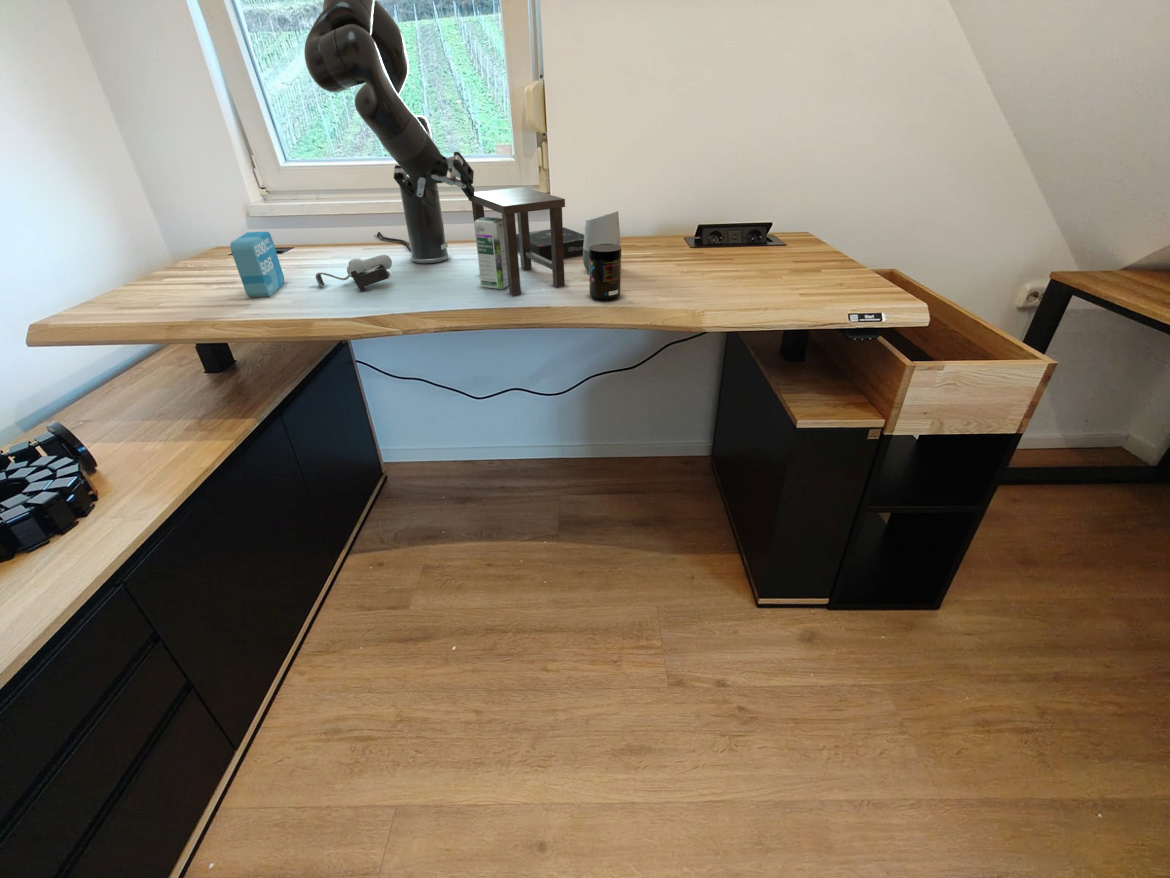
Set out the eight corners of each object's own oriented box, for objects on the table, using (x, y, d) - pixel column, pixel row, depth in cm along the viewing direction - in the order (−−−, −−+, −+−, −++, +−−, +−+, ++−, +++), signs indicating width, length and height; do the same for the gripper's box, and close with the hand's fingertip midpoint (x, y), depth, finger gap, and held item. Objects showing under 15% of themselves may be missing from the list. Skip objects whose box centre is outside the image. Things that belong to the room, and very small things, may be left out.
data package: (269, 298, 123) (250, 242, 116) (247, 299, 122) (227, 243, 116) (286, 282, 133) (269, 229, 126) (266, 283, 132) (248, 230, 126)
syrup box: (480, 287, 127) (472, 220, 119) (493, 280, 131) (486, 215, 124) (502, 290, 125) (495, 222, 117) (514, 282, 130) (509, 217, 122)
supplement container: (606, 290, 124) (606, 241, 118) (627, 297, 119) (628, 247, 114) (583, 296, 120) (582, 247, 115) (603, 304, 116) (603, 253, 110)
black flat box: (563, 241, 163) (562, 226, 161) (593, 253, 151) (593, 238, 149) (512, 249, 156) (511, 234, 154) (540, 262, 144) (539, 246, 142)
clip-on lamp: (316, 306, 126) (392, 285, 126) (301, 281, 122) (379, 258, 122) (327, 286, 136) (397, 266, 135) (313, 261, 132) (386, 241, 131)
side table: (477, 275, 135) (467, 192, 125) (529, 266, 141) (523, 186, 131) (511, 297, 121) (503, 206, 111) (567, 286, 126) (565, 198, 116)
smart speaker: (594, 264, 142) (594, 205, 134) (627, 268, 138) (628, 208, 130) (576, 273, 135) (574, 212, 127) (609, 278, 131) (610, 216, 123)
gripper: (444, 114, 96) (485, 177, 111) (374, 131, 100) (422, 190, 115) (442, 150, 94) (484, 209, 110) (370, 167, 98) (420, 221, 113)
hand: (452, 199), depth 112 cm, fingers open, 8 cm apart
